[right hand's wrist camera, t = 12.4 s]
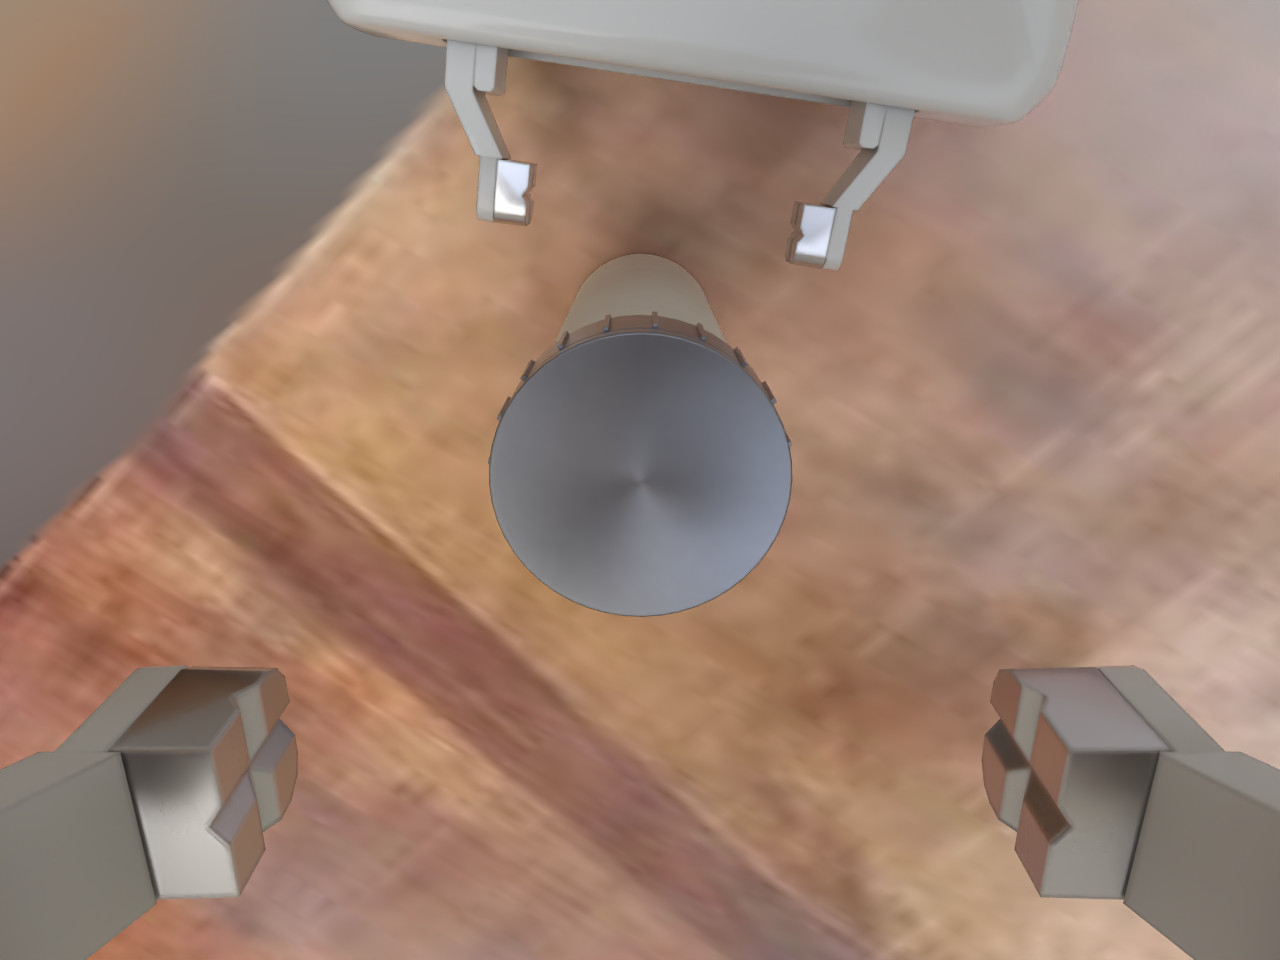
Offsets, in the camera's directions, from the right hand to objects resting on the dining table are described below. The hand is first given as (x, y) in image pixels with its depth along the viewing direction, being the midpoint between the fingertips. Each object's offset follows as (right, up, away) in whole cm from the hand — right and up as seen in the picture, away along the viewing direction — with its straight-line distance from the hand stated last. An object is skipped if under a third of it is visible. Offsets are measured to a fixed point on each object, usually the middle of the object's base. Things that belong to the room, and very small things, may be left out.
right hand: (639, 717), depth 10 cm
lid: (0, +3, +7) cm, 8 cm away
